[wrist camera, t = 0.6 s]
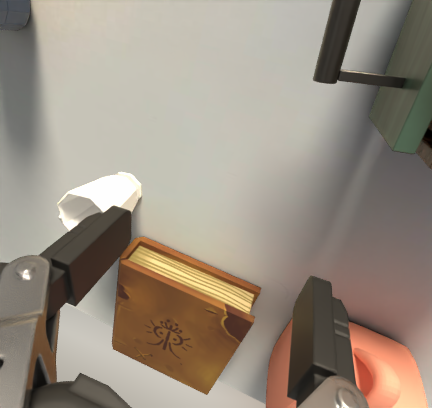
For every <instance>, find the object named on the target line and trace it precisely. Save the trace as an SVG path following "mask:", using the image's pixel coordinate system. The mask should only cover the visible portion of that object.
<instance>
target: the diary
mask: <svg viewBox="0 0 432 408" xmlns="http://www.w3.org/2000/svg"><path fill="white" fill-rule="evenodd" d="M260 290H261V288H259V287H257V286H255V285H252V284H250V283H248V282H246V281H243V280H241V279H239V278H237V277H234V276H232V275H230V274H227V273H225V272H223V271H221V270H218V269H216V268H214V267H212V266H209V265H207V264H205V263H202V262H200V261H198V260H196V259H193V258H191V257H189V256H186V255H184V254H182V253H180V252H177V251H175V250H173V249H171V248H168V247H166V246H164V245H161V244H159V243H157V242H155V241H152V240H150V239H148V238H145V237H139V238H135V239H134V240H133V241H132V242H131V244H130V245H129V246H128V247H127V248H126V250H125V251H124V252H123V253H122V254H121V255H120V258H119V269H118V281H117V292H116V303H115V314H114V326H113V337H112V346H113V349H114V350H116V351H118V352H120V353H122V354H124V355H126V356H128V357H130V358H132V359H135V360H137V361H139V362H141V363H143V364H145V365H147V366H149V367H151V368H153V369H155V370H157V371H159V372H161V373H163V374H165V375H167V376H170V377H171V378H173V379H175V380H177V381H179V382H181V383H183V384H186V385H188V386H190V387H192V388H194V389H196V390H198V391H200V392H202V393H204V394H206V395H207V394H208V393H209V391H210V390H211V388H212V387H213V385H214V383H215V382H216V380H217V379H218V377H219V376H220V374H221V373H222V371H223V370H224V368H225V366H226V365H227V363H228V362H229V360H230V359H231V357H232V356H233V354H234V353H235V351H236V349H237V348H238V346H239V345H240V343H241V342H242V340H243V339H244V337H245V335H246V334H247V332H248V331H249V329H250V328H251V326H252V325H253V323H254V318H255V317H254V316H252V315H250V309H251V307H252V306H253V304H254V302H255V301H256V299H257V297H258V296H259V294H260Z"/></svg>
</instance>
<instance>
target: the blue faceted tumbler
mask: <svg viewBox="0 0 432 408" xmlns="http://www.w3.org/2000/svg"><path fill="white" fill-rule="evenodd" d="M29 15H30V0H0V30H17V31H18V30H20V29H21V28H23V27H24V26H25V25H26V24H27V21H28V18H29Z"/></svg>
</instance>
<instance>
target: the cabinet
mask: <svg viewBox="0 0 432 408" xmlns="http://www.w3.org/2000/svg"><path fill="white" fill-rule="evenodd" d="M416 153H417V154H418V155H419V156H420V158H421V159H422V160H423V161H424V162H425V163H426V164H427V165H428V167H429V168H430V169H431V170H432V131H431V130H429V129H428V128H427V130H426V132H425V134H424V136H423V138H422V140H421V142H420V144H419V146H418V148H417V150H416Z"/></svg>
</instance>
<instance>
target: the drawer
mask: <svg viewBox="0 0 432 408" xmlns="http://www.w3.org/2000/svg"><path fill="white" fill-rule="evenodd" d="M360 2H361V0H333V1H332V5H331V9H330V13H329V17H328V21H327V25H326V29H325V33H324V37H323V41H322V45H321V49H320V53H319V57H318V61H317V65H316V69H315V73H314V77H313V80H314V81H316V82H320V83H327V84H335V83H336V82H337V80H338V81H345V82H353V83H361V84H369V85H377V86H380V88H379V91H378V94H377V96H376V99H375V102H374V104H373V107H372V110H371V112H370V115H369V118H370V119H371V121H372V122H373V123H374V125H375V126H376V128H377V129H378V131H379V132H380V133H381V135H382V136H383V138H384V139H385V141H386V142H387V143H388V145H389V146H390V148H391V149H392V150H393V151H396V152H402V153H408V154H415V152H416V150H417V148H418V146H419V144H420V142H421V140H422V138H423V136H424V134H425V132H426V130H427V128H428V129H429V130H431V131H432V0H413V1H412V4H411V6H410V9H409V11H408V14H407V17H406V19H405V22H404V25H403V27H402V30H401V33H400V35H399V38H398V41H397V43H396V46H395V49H394V51H393V54H392V57H391V59H390V62H389V65H388V67H387V70H386V72H385V75H383V74H375V73H366V72H358V71H349V70H340V69H341V66H342V63H343V59H344V56H345V52H346V49H347V46H348V42H349V39H350V36H351V32H352V29H353V25H354V22H355V19H356V15H357V12H358V8H359V5H360Z"/></svg>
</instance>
